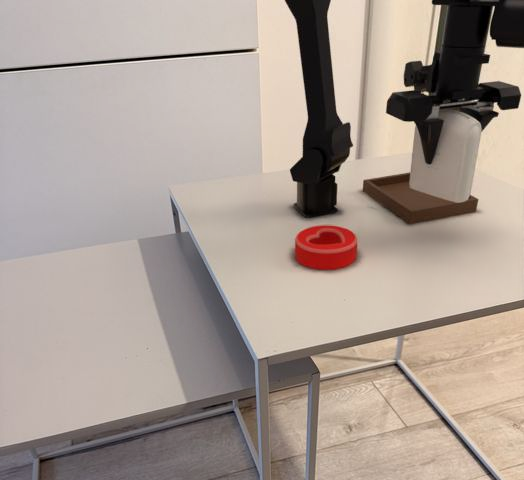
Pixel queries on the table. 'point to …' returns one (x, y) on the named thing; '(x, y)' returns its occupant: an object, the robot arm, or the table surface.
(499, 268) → the table surface
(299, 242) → the decorative ornament
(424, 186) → the photo printer
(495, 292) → the table surface
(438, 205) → the tray
